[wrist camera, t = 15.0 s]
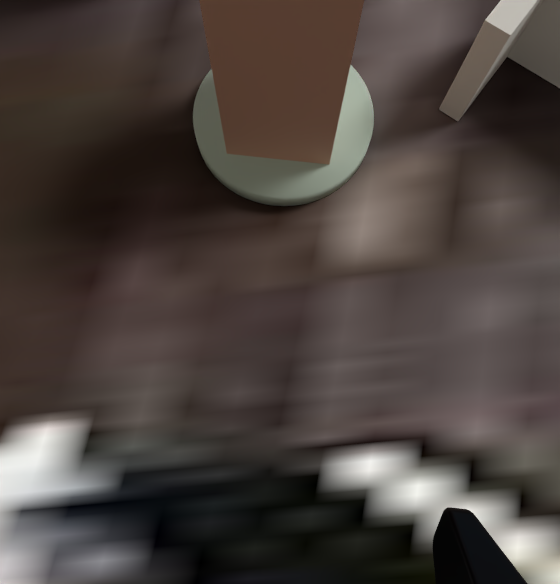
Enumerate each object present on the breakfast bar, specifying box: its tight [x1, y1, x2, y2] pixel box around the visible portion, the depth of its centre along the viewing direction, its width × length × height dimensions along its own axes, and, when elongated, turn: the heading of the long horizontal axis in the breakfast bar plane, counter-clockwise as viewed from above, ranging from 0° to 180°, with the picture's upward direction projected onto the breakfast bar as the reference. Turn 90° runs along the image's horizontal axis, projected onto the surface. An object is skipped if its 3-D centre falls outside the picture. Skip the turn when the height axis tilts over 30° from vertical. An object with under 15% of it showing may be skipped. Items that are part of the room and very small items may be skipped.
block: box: [200, 0, 364, 164], centre depth 20 cm, size 5×5×10 cm
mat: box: [193, 65, 374, 206], centre depth 25 cm, size 9×9×1 cm
